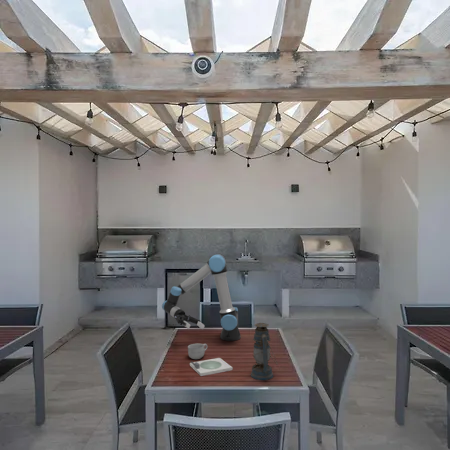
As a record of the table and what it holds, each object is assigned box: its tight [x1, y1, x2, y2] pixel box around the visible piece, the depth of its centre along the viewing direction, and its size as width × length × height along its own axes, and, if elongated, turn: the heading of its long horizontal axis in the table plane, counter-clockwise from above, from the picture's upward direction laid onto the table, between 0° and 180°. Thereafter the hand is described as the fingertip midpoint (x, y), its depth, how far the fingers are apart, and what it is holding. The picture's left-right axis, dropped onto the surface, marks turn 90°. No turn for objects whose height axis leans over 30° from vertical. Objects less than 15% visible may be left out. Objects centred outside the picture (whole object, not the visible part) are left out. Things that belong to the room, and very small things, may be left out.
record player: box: [189, 357, 233, 377], centre depth 229 cm, size 20×18×4 cm
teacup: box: [187, 343, 208, 360], centre depth 247 cm, size 14×11×8 cm
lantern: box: [250, 322, 279, 381], centre depth 216 cm, size 19×14×30 cm
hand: (196, 327), depth 256 cm, fingers open, 13 cm apart
